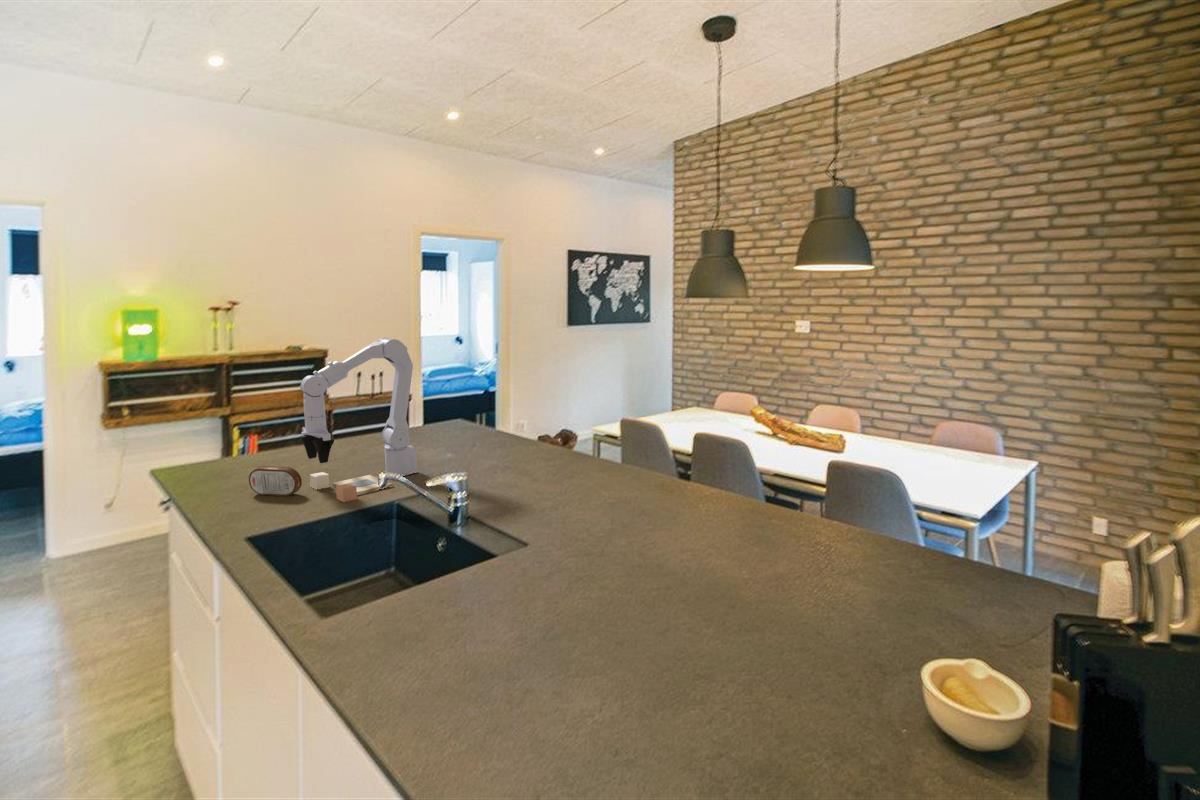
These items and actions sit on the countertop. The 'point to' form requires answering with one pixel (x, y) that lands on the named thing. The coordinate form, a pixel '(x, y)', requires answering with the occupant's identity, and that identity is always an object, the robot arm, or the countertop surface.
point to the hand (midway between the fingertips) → (318, 460)
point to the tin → (275, 480)
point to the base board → (363, 484)
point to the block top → (346, 492)
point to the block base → (319, 480)
